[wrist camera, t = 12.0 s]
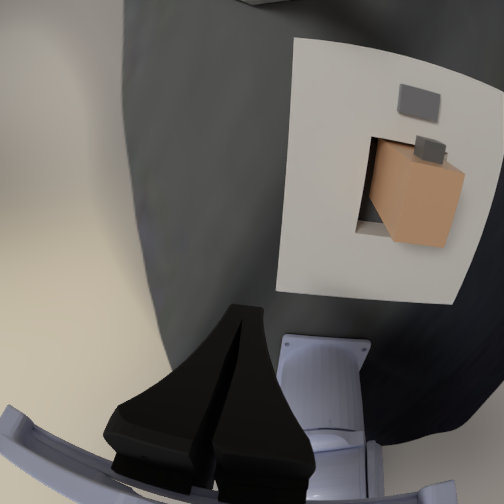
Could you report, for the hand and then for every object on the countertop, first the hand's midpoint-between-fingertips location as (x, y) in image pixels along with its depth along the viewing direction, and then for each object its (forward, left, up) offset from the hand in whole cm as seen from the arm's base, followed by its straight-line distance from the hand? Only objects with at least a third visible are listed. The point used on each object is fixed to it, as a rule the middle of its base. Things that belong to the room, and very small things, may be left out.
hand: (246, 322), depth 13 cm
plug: (+5, -8, -10) cm, 13 cm away
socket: (+4, -8, -9) cm, 13 cm away
